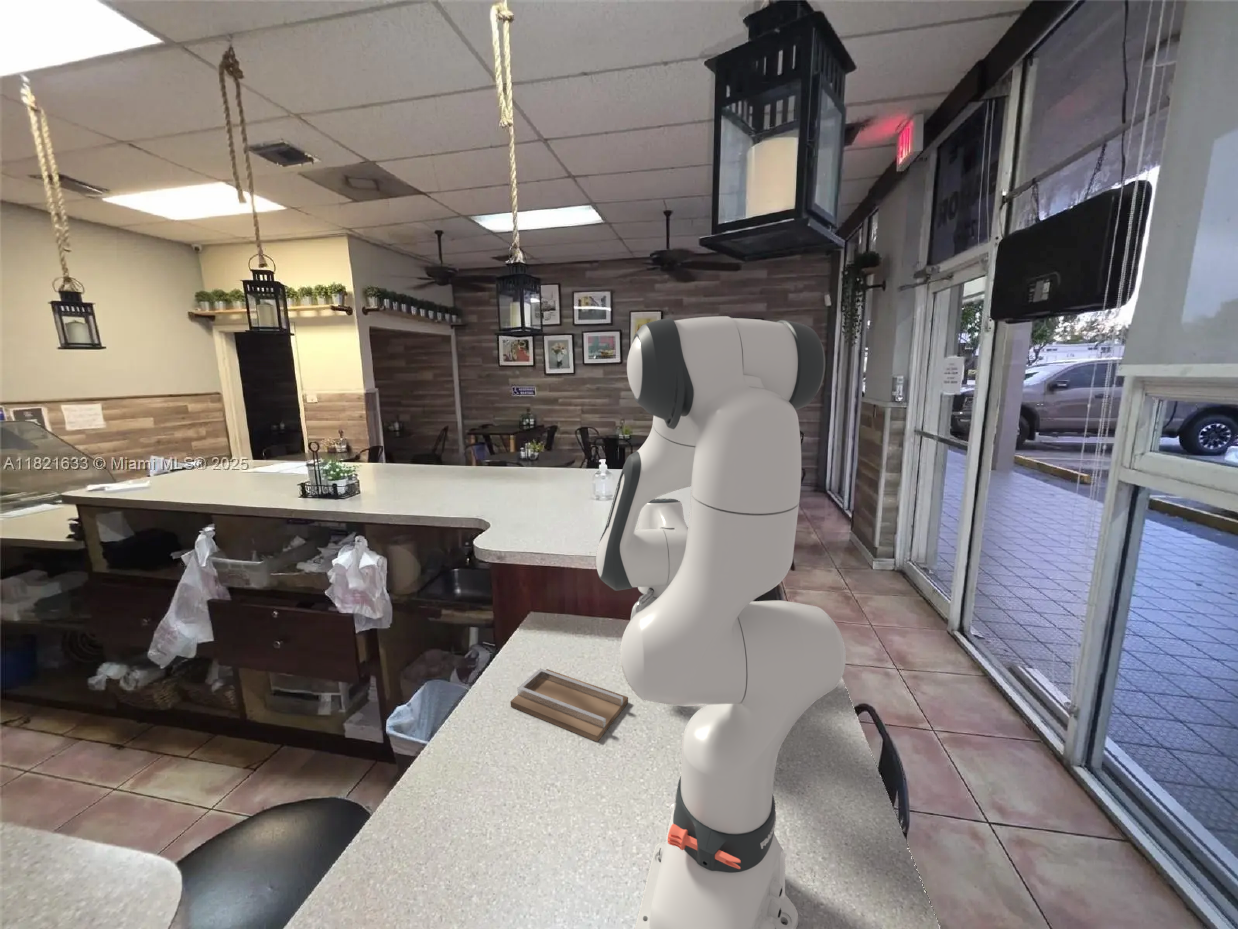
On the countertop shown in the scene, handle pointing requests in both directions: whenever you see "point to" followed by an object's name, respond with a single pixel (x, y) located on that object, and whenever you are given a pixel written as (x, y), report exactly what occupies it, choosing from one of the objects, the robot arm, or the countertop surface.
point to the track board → (574, 699)
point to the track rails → (564, 707)
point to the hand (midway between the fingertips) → (660, 646)
